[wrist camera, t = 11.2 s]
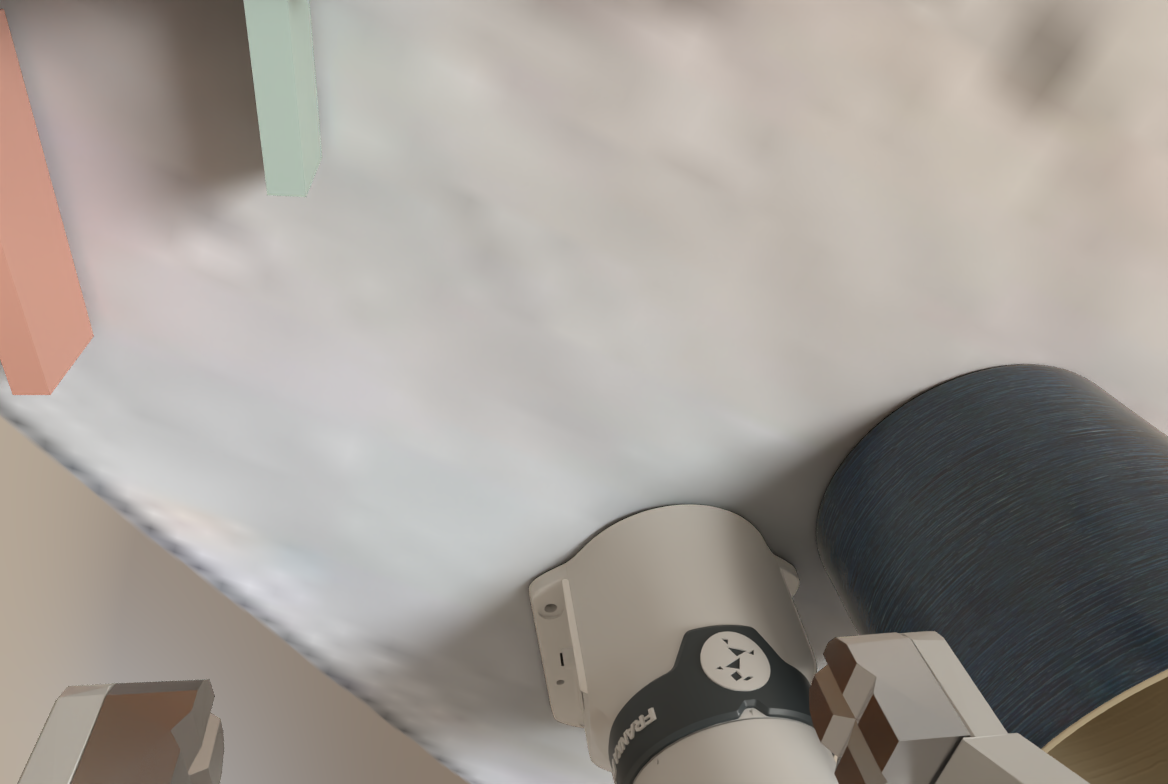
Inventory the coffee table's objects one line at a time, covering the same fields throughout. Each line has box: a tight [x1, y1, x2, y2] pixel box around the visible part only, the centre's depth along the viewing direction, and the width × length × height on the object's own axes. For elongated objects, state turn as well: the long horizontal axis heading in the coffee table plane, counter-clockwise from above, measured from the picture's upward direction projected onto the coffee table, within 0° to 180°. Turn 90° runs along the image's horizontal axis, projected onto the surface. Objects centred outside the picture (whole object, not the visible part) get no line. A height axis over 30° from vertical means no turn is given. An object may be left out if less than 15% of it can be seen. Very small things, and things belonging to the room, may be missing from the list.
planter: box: [816, 364, 1168, 784], centre depth 45 cm, size 22×22×20 cm
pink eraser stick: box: [0, 9, 94, 395], centre depth 31 cm, size 14×1×5 cm, turn 174°
